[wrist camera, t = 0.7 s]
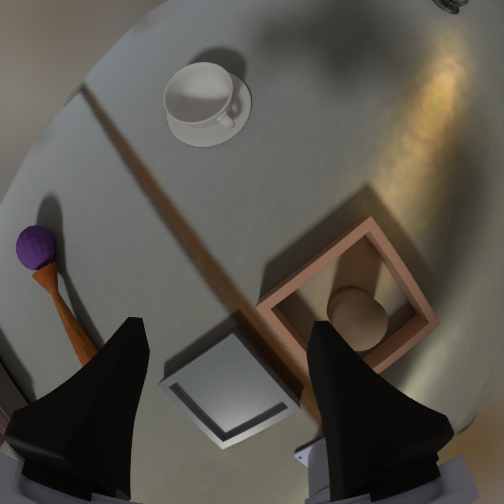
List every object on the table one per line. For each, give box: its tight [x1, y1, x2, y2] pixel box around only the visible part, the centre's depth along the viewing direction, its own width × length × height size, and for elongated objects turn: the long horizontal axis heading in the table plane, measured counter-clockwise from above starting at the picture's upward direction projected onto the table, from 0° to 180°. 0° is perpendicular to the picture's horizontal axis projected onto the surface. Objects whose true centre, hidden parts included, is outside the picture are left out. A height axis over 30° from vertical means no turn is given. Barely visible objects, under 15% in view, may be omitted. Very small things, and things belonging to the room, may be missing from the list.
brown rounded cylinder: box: [327, 286, 388, 351], centre depth 28 cm, size 5×5×6 cm
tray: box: [158, 327, 301, 449], centre depth 32 cm, size 12×12×2 cm
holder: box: [256, 216, 440, 374], centre depth 29 cm, size 14×14×4 cm
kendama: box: [16, 225, 98, 366], centre depth 33 cm, size 6×6×20 cm
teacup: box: [163, 62, 251, 147], centre depth 29 cm, size 10×10×5 cm
